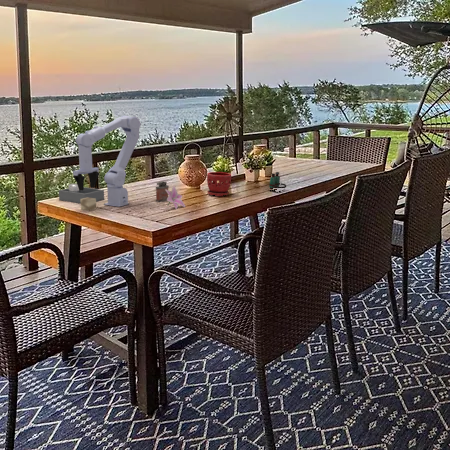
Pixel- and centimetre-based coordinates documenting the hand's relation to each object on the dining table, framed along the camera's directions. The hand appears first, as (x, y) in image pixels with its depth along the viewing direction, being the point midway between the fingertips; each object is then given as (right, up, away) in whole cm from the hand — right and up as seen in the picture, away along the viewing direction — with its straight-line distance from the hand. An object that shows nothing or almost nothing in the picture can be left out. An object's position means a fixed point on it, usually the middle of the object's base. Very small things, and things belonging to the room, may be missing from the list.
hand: (87, 188), depth 242 cm
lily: (+40, -9, +8) cm, 42 cm away
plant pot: (+61, -1, +40) cm, 73 cm away
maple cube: (0, -9, +2) cm, 10 cm away
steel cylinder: (-12, -3, +21) cm, 25 cm away
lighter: (+33, -5, +23) cm, 40 cm away
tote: (-8, -4, +21) cm, 23 cm away
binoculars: (+95, +2, +53) cm, 109 cm away
